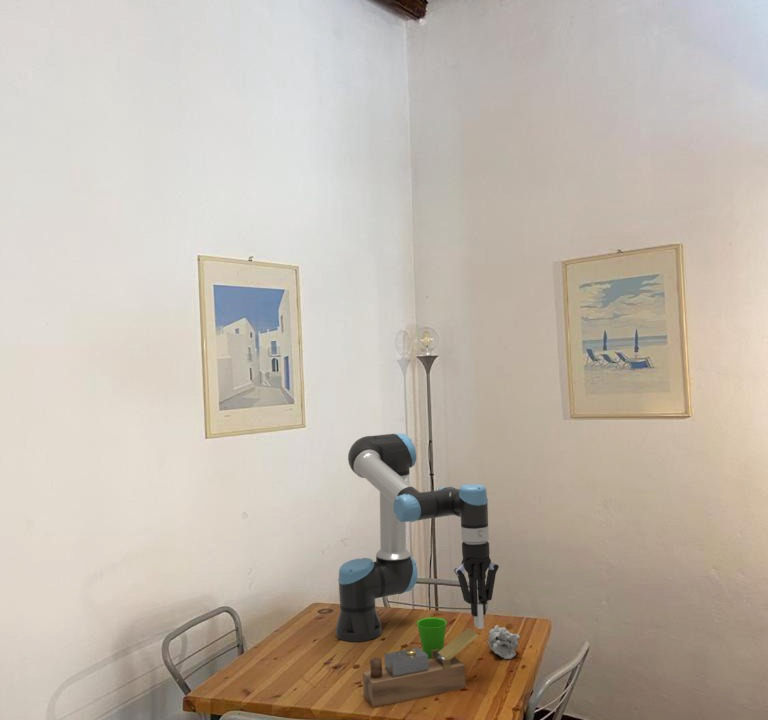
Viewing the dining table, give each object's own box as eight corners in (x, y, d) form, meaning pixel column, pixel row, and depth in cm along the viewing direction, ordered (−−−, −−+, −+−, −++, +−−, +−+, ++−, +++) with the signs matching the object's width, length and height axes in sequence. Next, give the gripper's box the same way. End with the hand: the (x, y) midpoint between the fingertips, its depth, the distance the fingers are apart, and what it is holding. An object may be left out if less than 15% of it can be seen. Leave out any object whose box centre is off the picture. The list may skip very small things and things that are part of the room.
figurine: (505, 628, 206) (501, 607, 218) (484, 653, 208) (480, 631, 220) (528, 645, 207) (522, 623, 218) (506, 670, 208) (502, 647, 220)
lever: (433, 653, 195) (467, 626, 199) (435, 658, 195) (469, 630, 199) (442, 661, 189) (477, 633, 193) (444, 665, 190) (479, 637, 193)
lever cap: (385, 669, 190) (384, 651, 190) (419, 662, 194) (418, 645, 194) (393, 677, 184) (392, 659, 185) (428, 670, 188) (427, 652, 188)
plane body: (363, 694, 189) (362, 656, 189) (452, 676, 198) (450, 640, 198) (373, 707, 181) (371, 667, 182) (465, 687, 190) (463, 649, 191)
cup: (447, 666, 205) (445, 628, 205) (415, 665, 206) (414, 627, 207) (450, 654, 213) (448, 617, 214) (420, 653, 215) (418, 616, 216)
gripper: (460, 547, 192) (464, 635, 191) (502, 541, 196) (506, 627, 196) (448, 541, 199) (451, 626, 198) (489, 536, 203) (493, 619, 203)
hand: (479, 627), depth 197 cm, fingers closed
